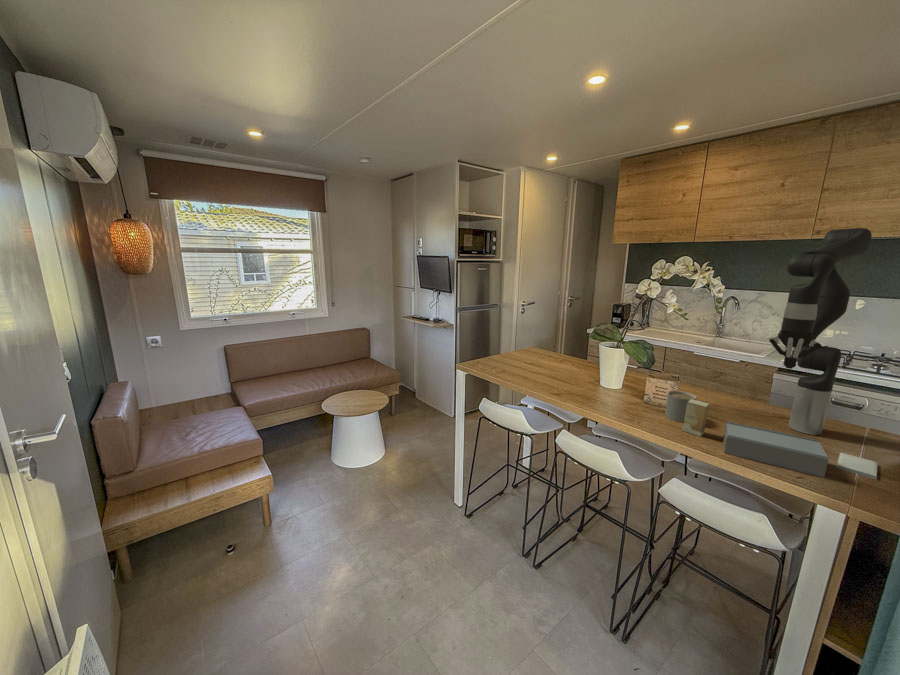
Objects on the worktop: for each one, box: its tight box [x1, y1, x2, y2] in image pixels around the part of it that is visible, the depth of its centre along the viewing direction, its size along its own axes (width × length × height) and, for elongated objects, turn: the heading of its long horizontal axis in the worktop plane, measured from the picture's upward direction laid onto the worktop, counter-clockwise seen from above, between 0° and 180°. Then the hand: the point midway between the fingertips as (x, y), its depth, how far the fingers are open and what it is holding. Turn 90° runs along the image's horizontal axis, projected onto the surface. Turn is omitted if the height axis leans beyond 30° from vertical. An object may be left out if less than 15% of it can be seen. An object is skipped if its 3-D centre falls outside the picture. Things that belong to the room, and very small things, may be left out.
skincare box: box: [681, 399, 711, 437], centre depth 133 cm, size 6×4×12 cm
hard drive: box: [836, 452, 878, 480], centre depth 112 cm, size 2×8×12 cm
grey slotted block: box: [722, 424, 829, 478], centre depth 117 cm, size 12×24×6 cm, turn 54°
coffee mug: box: [664, 390, 697, 423], centre depth 148 cm, size 13×10×10 cm
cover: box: [725, 421, 829, 460], centre depth 117 cm, size 12×24×1 cm, turn 54°
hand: (788, 367), depth 119 cm, fingers closed
